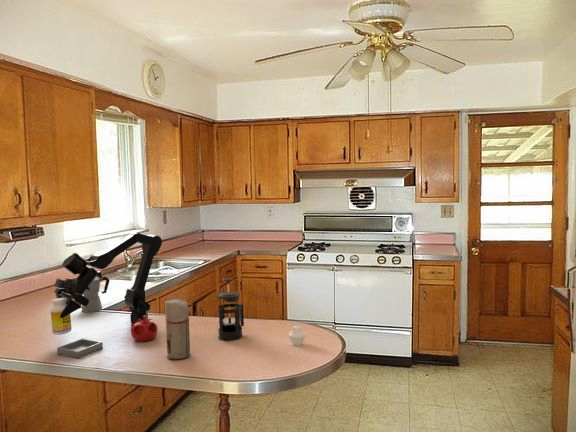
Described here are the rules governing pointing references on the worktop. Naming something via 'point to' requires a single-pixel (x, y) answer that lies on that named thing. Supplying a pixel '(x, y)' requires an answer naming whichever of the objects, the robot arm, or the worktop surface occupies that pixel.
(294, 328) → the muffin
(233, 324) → the french press
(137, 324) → the red ball with holes
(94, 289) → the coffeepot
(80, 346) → the tray
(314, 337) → the worktop surface
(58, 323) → the supplement bottle
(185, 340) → the spray can
